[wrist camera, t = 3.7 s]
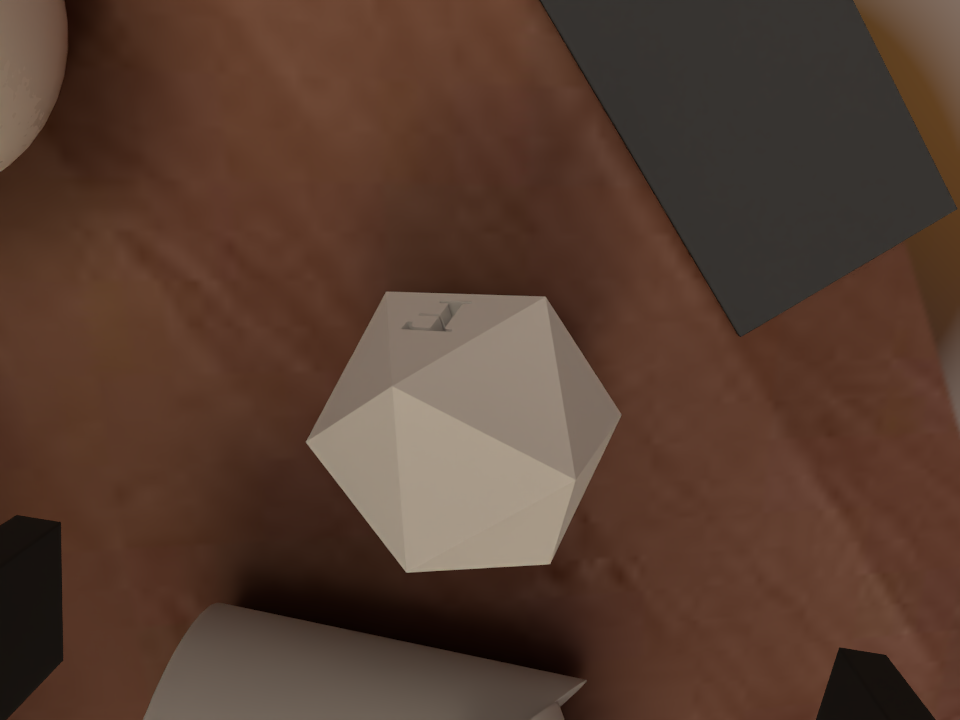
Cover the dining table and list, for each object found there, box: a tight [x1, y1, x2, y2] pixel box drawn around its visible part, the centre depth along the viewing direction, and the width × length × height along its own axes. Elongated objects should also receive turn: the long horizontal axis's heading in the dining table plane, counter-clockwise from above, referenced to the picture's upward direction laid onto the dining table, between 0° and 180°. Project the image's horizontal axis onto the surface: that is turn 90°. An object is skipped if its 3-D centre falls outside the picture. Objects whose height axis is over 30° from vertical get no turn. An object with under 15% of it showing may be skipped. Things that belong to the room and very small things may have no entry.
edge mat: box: [540, 0, 957, 337], centre depth 22 cm, size 20×8×1 cm, turn 34°
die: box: [306, 292, 621, 573], centre depth 22 cm, size 8×9×10 cm
